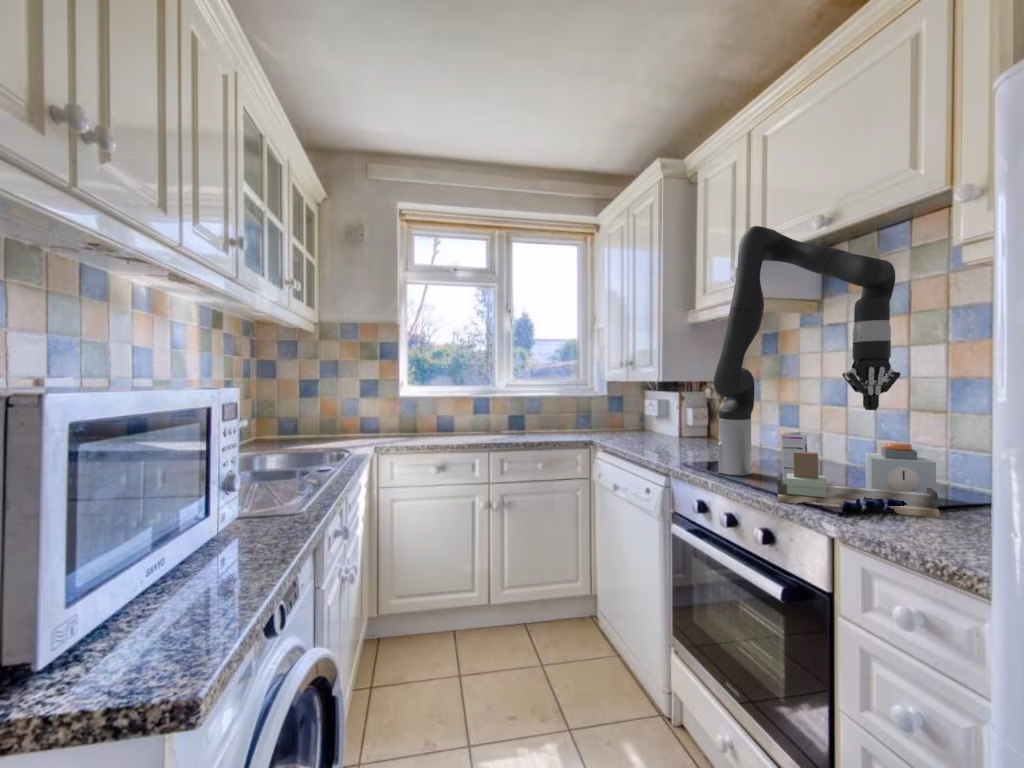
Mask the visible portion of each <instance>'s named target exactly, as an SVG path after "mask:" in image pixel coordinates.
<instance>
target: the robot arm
mask: <svg viewBox="0 0 1024 768" xmlns="http://www.w3.org/2000/svg"><path fill="white" fill-rule="evenodd" d="M763 261H769V262H780V263H781V262H782V263H787V264H790V265H793V266H797V267H799V268H802V269H804V270H806V271H809V272H812V273H815V274H818V275H821V276H826V277H828V278H833V279H837V280H841V281H843V282H846V283H848V284H851V285H854V286H858V287H861V297H860V299H857V300H856V302H855V303H854V308H853V310H854V312H853V315H854V316H853V330H852V359H853V363H852V365H851V369H849V370H848V371H847V372H843V373H842V374H841V375H842V377H843V378H844V380H845V381H846V382H847V383H848V385H849V386H850V387H851V389H852V390H853V391H854V392H855V393H860V394H861V395H862V406H863V408H864V409H865V410H866V411H877V410H878V408H879V406H880V395H881V394H883V393H887V392H888V391H889V390H890V389H891V388H892V387H893V385H894V384H895V382H897V380H899V378H900V376H901V373H900V372H899V371H895V370H893V369H892V366H891V365H892V364H891V362H890V358H891V357H892V356H891V355H892V354H891V352H892V329H891V322H890V321H891V317H890V315H891V307H890V305H891V299H892V296H893V293H894V288H895V283H896V269H895V267H894V265H893V264H892V262H890V261H889V260H885V259H882V258H881V259H880V258H877V257H871V256H868V255H867V256H866V255H861V254H855V253H851V252H849V251H846V250H843V249H838V248H835V247H830V246H825V245H820V244H815V243H814V244H812V243H807V242H802V241H799V240H796V239H794V238H793V239H792V238H790V237H788V236H786V235H784V234H782V233H781V232H779V231H777V230H776V229H772V228H769V227H764V226H759V225H754V226H750V227H749V228H748V229H746V230H745V231H744V232H743V234H742V236H741V238H740V240H739V245H738V251H737V265H736V276H735V281H734V287H733V293H732V298H731V299H732V300H731V303H730V308H729V313H728V317H727V324H726V330H725V335H724V340H723V344H722V349H721V352H720V353H721V354H720V356H719V359H718V363H717V366H716V370H715V373H714V376H713V389H714V390H715V392H716V393H717V395H719V396H720V397H723V398H725V402H724V405H723V406H722V407H720V409H719V411H718V442H717V443H718V444H717V452H718V453H717V454H718V457H717V460H718V461H717V462H718V464H717V465H718V471H717V472H718V473H719V474H724V475H730V476H749V475H752V473H753V471H752V470H753V469H752V468H753V465H752V461H753V460H752V413H753V411H754V406H755V390H756V389H755V378H754V376H753V374H752V373H751V371H750V370H749V369H747V368H743V363H744V358H745V355H746V353H747V350H748V349H749V347H750V345H751V344H752V342H753V341H754V339H755V337H756V336H757V334H758V333H759V330H760V328H761V324H762V319H763V315H764V310H765V300H764V299H765V298H764V294H763V290H762V285H761V284H762V283H761V273H762V272H761V270H762V266H763Z"/></svg>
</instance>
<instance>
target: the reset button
mask: <svg viewBox="0 0 1024 768" xmlns="http://www.w3.org/2000/svg"><path fill="white" fill-rule="evenodd" d="M885 447H886V449H890V450H902V451H909V450H912V449H913V445H912V444H910V443H903V442H885Z"/></svg>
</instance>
